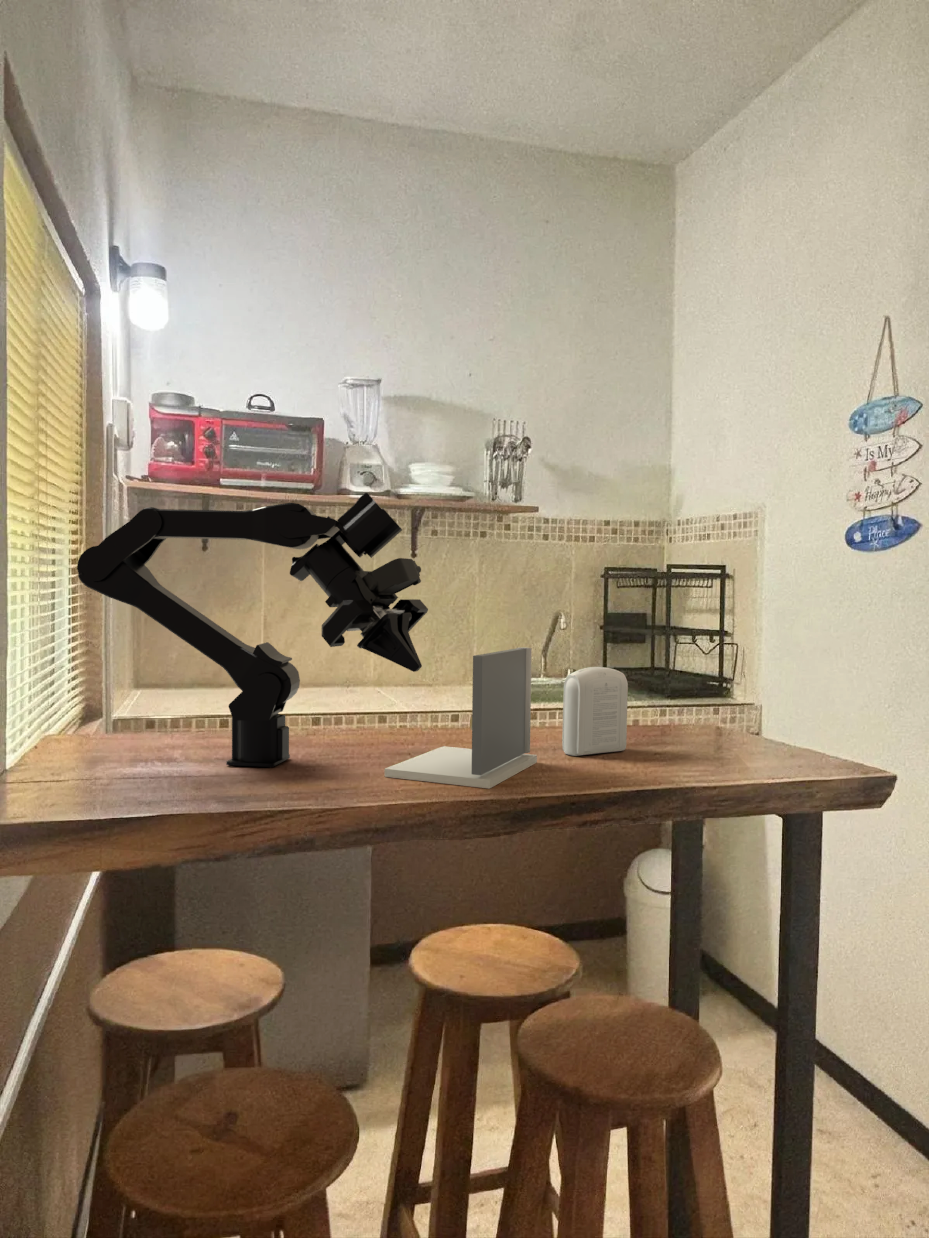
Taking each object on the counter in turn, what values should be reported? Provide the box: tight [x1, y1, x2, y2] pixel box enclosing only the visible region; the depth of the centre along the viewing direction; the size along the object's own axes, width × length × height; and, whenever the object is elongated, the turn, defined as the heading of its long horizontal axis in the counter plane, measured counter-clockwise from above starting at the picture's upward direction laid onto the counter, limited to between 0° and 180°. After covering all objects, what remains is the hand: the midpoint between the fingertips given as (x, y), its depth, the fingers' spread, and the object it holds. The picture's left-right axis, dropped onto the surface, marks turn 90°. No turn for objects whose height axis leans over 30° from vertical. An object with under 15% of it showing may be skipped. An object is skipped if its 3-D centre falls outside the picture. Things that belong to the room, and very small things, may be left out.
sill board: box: [384, 745, 538, 789], centre depth 110 cm, size 14×17×1 cm
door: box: [469, 647, 532, 775], centre depth 108 cm, size 3×17×14 cm, turn 156°
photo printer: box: [561, 666, 629, 757], centre depth 123 cm, size 10×4×12 cm, turn 123°
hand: (418, 669), depth 108 cm, fingers closed
